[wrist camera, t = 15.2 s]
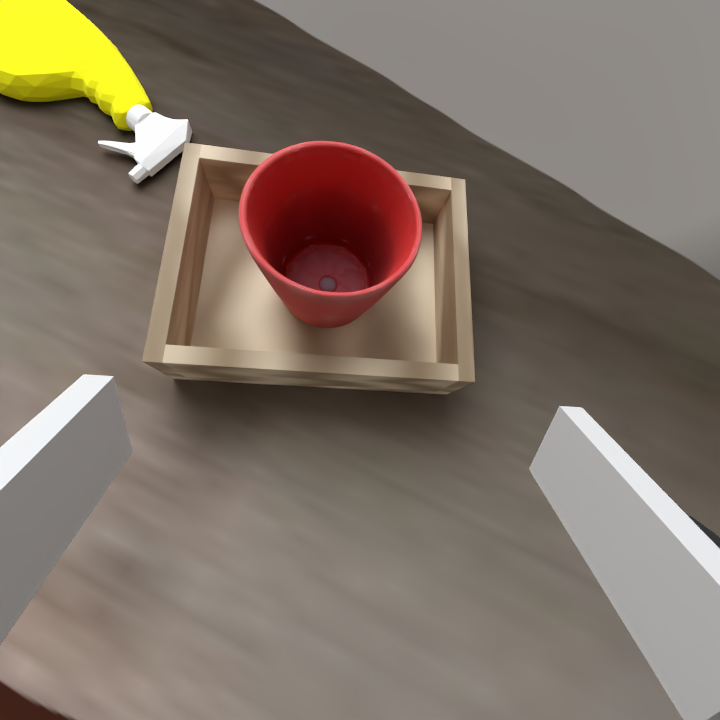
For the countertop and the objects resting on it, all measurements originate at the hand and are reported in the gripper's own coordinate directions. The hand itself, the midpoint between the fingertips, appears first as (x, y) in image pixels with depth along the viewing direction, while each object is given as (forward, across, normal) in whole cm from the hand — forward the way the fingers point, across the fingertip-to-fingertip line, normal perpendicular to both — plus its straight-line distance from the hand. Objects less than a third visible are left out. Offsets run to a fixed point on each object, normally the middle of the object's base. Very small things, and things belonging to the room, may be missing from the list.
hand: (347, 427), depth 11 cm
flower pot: (+21, -1, -3) cm, 21 cm away
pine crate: (+22, -1, -3) cm, 22 cm away
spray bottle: (+35, -25, +10) cm, 44 cm away
